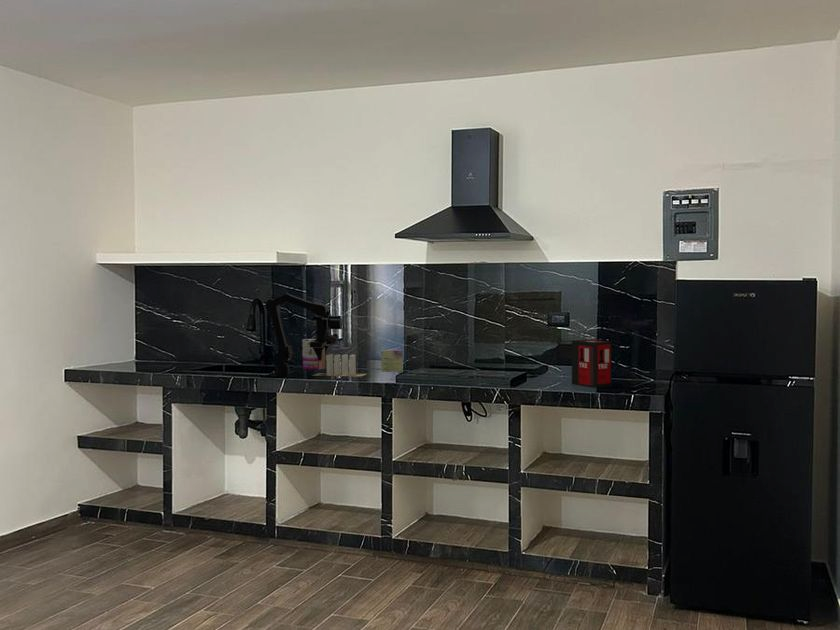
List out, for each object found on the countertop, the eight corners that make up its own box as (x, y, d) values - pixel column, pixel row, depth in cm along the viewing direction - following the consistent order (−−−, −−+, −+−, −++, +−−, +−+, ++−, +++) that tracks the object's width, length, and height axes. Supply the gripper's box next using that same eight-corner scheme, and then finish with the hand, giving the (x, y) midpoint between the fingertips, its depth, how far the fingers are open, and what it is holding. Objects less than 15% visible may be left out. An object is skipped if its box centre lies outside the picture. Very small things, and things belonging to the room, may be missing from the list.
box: (401, 371, 430) (400, 349, 430) (402, 373, 425) (402, 350, 424) (381, 372, 429) (381, 349, 428) (382, 373, 423) (382, 350, 422)
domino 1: (319, 368, 412) (318, 348, 411) (322, 367, 417) (322, 347, 416) (322, 368, 411) (321, 348, 411) (325, 367, 416) (325, 347, 416)
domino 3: (334, 375, 410) (334, 355, 410) (337, 374, 415) (337, 354, 414) (337, 375, 410) (337, 355, 409) (340, 374, 415) (340, 354, 414)
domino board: (311, 377, 410) (311, 375, 410) (318, 375, 420) (318, 373, 420) (361, 378, 404) (361, 376, 404) (367, 375, 414) (367, 373, 414)
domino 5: (349, 375, 408) (349, 355, 408) (352, 374, 413) (352, 354, 413) (352, 375, 408) (352, 355, 407) (355, 374, 413) (355, 354, 412)
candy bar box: (324, 369, 444) (324, 339, 443) (319, 370, 440) (318, 339, 439) (307, 368, 450) (307, 338, 449) (302, 369, 445) (301, 339, 444)
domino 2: (326, 375, 411) (326, 355, 410) (330, 373, 416) (329, 354, 415) (329, 375, 411) (329, 355, 410) (333, 374, 415) (332, 354, 415)
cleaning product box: (571, 383, 377) (571, 340, 376) (586, 382, 382) (586, 339, 380) (596, 388, 363) (596, 343, 362) (611, 386, 367) (611, 341, 366)
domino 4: (342, 375, 409) (341, 355, 409) (345, 374, 414) (344, 354, 414) (345, 375, 409) (344, 355, 408) (348, 374, 414) (347, 354, 413)
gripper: (330, 330, 402) (331, 362, 403) (342, 328, 420) (343, 358, 421) (309, 330, 404) (309, 362, 405) (321, 327, 423) (322, 358, 423)
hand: (321, 360), depth 414 cm, fingers closed on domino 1, 5 cm apart
